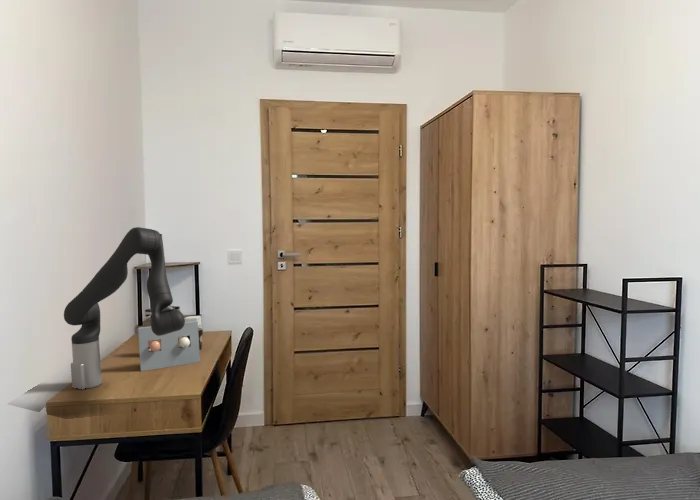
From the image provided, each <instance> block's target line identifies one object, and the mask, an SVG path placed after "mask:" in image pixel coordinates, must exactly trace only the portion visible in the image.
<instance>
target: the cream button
mask: <svg viewBox="0 0 700 500" xmlns="http://www.w3.org/2000/svg"><path fill="white" fill-rule="evenodd" d="M178 344H179V346H180V347H181V346H182V347H188V346H189V344H190V341H189V339H188V337H187V336H181V337H178Z"/></svg>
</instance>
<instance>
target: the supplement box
mask: <svg viewBox="0 0 700 500" xmlns="http://www.w3.org/2000/svg"><path fill="white" fill-rule="evenodd" d="M184 318H185V322H191V321H197V322H198V328H202V316H201V315H195V316H194V315H192V316H191V315H189V316H186V317H184Z"/></svg>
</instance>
